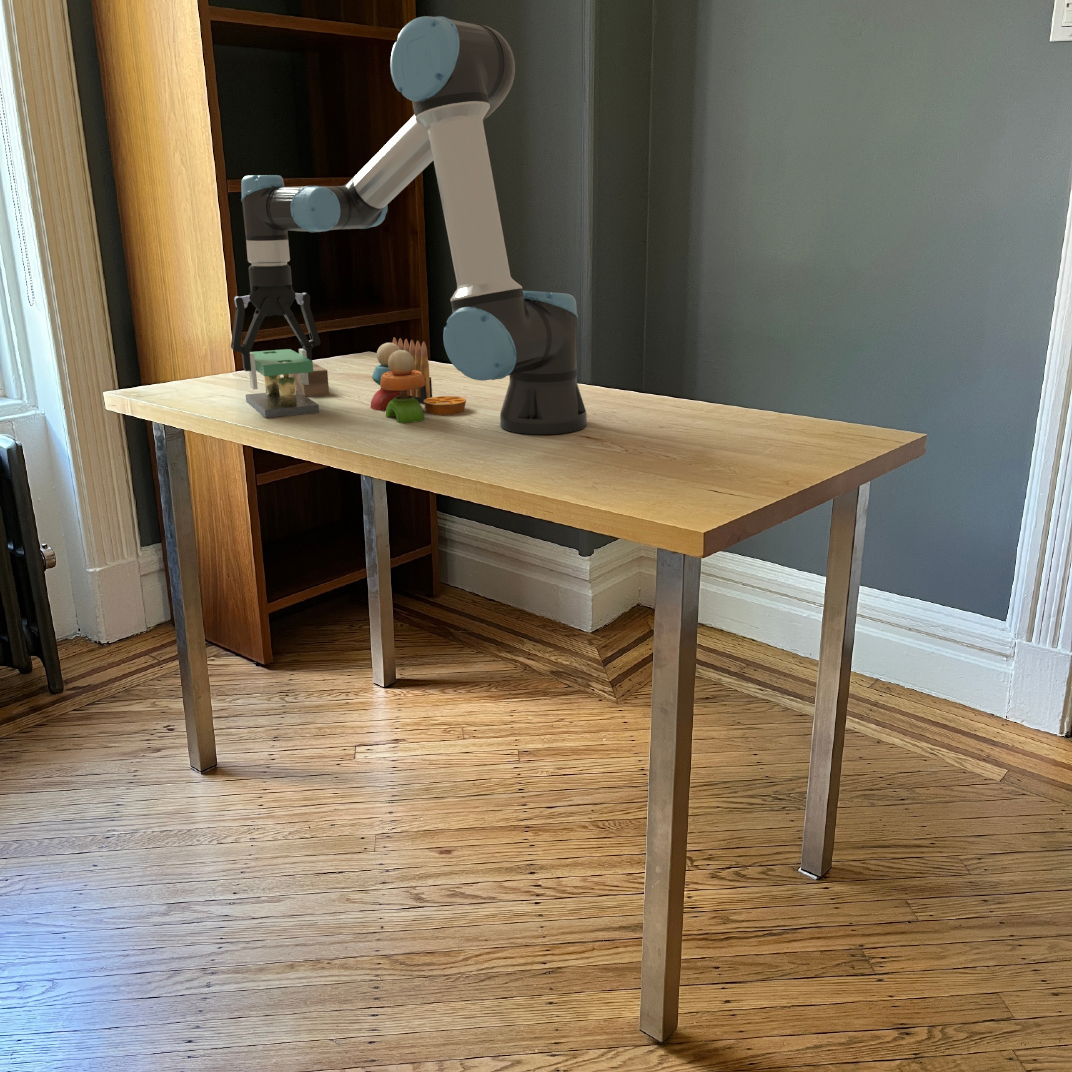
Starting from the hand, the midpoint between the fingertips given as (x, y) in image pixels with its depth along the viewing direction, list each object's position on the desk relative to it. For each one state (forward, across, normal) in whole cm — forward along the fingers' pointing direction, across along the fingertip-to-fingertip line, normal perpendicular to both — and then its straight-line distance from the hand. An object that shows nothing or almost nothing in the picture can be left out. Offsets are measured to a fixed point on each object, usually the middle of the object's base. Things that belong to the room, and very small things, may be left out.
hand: (279, 385), depth 199 cm
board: (-4, 0, 0) cm, 4 cm away
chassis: (+4, 0, 0) cm, 4 cm away
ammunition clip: (+4, -24, +6) cm, 25 cm away
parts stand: (+4, -9, -14) cm, 17 cm away
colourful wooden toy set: (+4, -21, +15) cm, 26 cm away
